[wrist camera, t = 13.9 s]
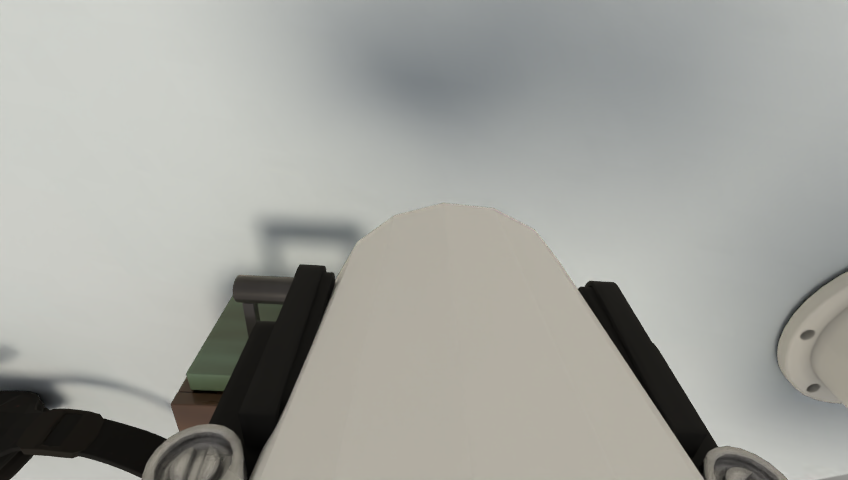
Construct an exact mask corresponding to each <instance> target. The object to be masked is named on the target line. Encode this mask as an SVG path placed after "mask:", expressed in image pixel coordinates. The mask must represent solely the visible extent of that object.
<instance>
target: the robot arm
mask: <svg viewBox="0 0 848 480" xmlns="http://www.w3.org/2000/svg"><path fill="white" fill-rule="evenodd" d="M334 286H335V276H334V273H329V272H326V267H325V266H318V265H299V267H298V269H297V271H296V274H295V276H294V279H293V281H292V284H291V286H290V288H289V291H288V293H287V296H286V298H285V301H284V303H283V306H282V308H281V310H280V313H279V315H278V318H277V320H276V322H275V321H258V322H257V323H256V324H255V326H254V327H253V329H252V332H251V334H250V336H249V338H248V340H247V342H246V345H245V347H244V349H243V351H242V353H241V355H240V357H239V360H238V362H237V364H236V366H235V368H234V370H233V372H232V375H231V377H230V379H229V381H228V383H227V385H226V387H225V390H224V392H223V394H222V396H221V398H220V400H219V403H218V405H217V407H216V409H215V411H214V413H213V415H212V418H211V420H210V422H209V424H204V425H196V426H193V427H190V428H187V429H184V430H182V431H180V432H178V433H177V434H175V435H173V436H171V437H170V438H168V439H167V440H166V441H165V442H164V443H163V444H161V445H160V446H159V447H158V448H157V449H156V450H155V452H154V453H153V454H152V456H151V457H150V459H149V460H148V461H147V464H146V467H145V469H144V472H143V475H142V480H249V478H250V476H251V474H252V471H253V469H254V467H255V465H256V462H257V460H258V458H259V455H260V453H261V451H262V449H263V447H264V445H265V444H266V442H267V440H268V439H269V437H270V436H271V434H272V432H273V431H274V429H275V427H276V425H277V423H278V420H279V418H280V416H281V414H282V412H283V410H284V408H285V406H286V404H287V402H288V400H289V397H290V395H291V393H292V390H293V388H294V386H295V383H296V381H297V379H298V376H299V374H300V372H301V369H302V367H303V365H304V362H305V360H306V358H307V355H308V353H309V351H310V348H311V346H312V343H313V341H314V338H315V335H316V333H317V330H318V328H319V325H320V323H321V320H322V317H323V315H324V312H325V310H326V307H327V304H328V302H329V299H330V297H331V294H332V291H333V289H334ZM578 291H579V292H580V294H581V295H582V297H583V298H584V300H585V301H586V303H587V304H588V306H589V307H590V309H591V310H592V312H593V313H594V315H595V316H596V318H597V319H598V321H599V322H600V324H601V325H602V327H603V328H604V330H605V331H606V333H607V334H608V336H609V337H610V339H611V340H612V342H613V343H614V345H615V346H616V348H617V349H618V351H619V352H620V354H621V355H622V357H623V358H624V360H625V361H626V363H627V364H628V366H629V367H630V369H631V370H632V372H633V373H634V375H635V376H636V378H637V379H638V381H639V382H640V384H641V385H642V387H643V388H644V390H645V391H646V393H647V394H648V396H649V397H650V399H651V400H652V402H653V403H654V405H655V406H656V408H657V409H658V411H659V412H660V414H661V415H662V417H663V418H664V420H665V421H666V423H667V424H668V426H669V427H670V429H671V431H672V432H673V434H674V435H675V437H676V438H677V440H678V441H679V443H680V444H681V446H682V447H683V449H684V450H685V452H686V453H687V455H688V456H689V458H690V459H691V461H692V462H693V464H694V465H695V467H696V468H697V470H698V471H699V473H700V474H701V476H702V477H703V479H704V480H788V479H787V478H786V477H785V476H784V475H783V474H782V473H781V472H780V471H779V470H777V469H776V468H775V467H774V466H773V465H771V464H770V463H769V462H767V461H766V460H764V459H762V458H761V457H759V456H757V455H756V454H753V453H751V452H748V451H746V450H743V449H741V448H735V447H730V446H723V447H718V446H717V444H716V443H715V441H714V440H713V438H712V436H711V435H710V433H709V431H708V430H707V428H706V426H705V425H704V423H703V422H702V420H701V418H700V417H699V415H698V413H697V412H696V410H695V408H694V407H693V405H692V404H691V402H690V400H689V399H688V397H687V395H686V394H685V392H684V390H683V389H682V387H681V386H680V384H679V382H678V381H677V379H676V377H675V376H674V374H673V372H672V371H671V369H670V368H669V366H668V364H667V363H666V361H665V359H664V358H663V356H662V354H661V353H660V351H659V350H658V348H657V347H656V346H655V345H654V343H652V342H651V340H650V338H649V337H648V335H647V333H646V332H645V330H644V328H643V327H642V325H641V323H640V322H639V320H638V319H637V317H636V315H635V314H634V312H633V310H632V309H631V307H630V305H629V304H628V302H627V300H626V299H625V297H624V295H623V294H622V292H621V290H620V289H619V287H618V286H617V284H616V283H614V282H600V281H589V282H587V284H586V285H585V287H579V288H578ZM777 358H778V364H779V367H780V369H781V371H782V373H783V375H784V376H785V377H786V378H787V379H788V380H789V382H790V383H791V384H792V385H793V386H794V387H795V388H796V389H797V390H798V391H799V392H801V393H802V394H804V395H806V396H808V397H811V398H813V399H816V400H819V401H824V402H829V403H841V404H844V405H845V407H846V408H847V409H848V272H846V273H844V274H842V275H840V276H838V277H837V278H835V279H834V280H832V281H831V282H829V283H827V284H826V285H824V286H823V287H821V288H820V289H819V290H818V291H817V292H815V293H814V294H813V295H812V296H811V297H809V298H808V299H807V300H806V301H805V302H804V303H803V304H802V305H801V306H800V307H799V309H798V310H797V311H796V312H795V313H794V314H793V316H792V317H791V319H790V320H789V322H788V323H787V325H786V326H785V328H784V330H783V332H782V335H781V337H780V340H779V343H778V350H777Z"/></svg>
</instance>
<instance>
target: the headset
mask: <svg viewBox="0 0 848 480" xmlns="http://www.w3.org/2000/svg"><path fill="white" fill-rule="evenodd" d="M166 440H167V439H165V438H163V437H161V436H158V435H156V434H153V433H151V432H148V431H145V430H142V429H139V428H136V427H132V426H129V425H126V424H122V423H119V422H115V421H111V420H107V419H103V418H102V416H101V415H100V414H97V413H93V412H90V411H82V410H74V409H52V410H49V409H47V408H45V407H44V403H43V402H42V401H41V400H40V398H39V396H38V394H35V393H32V392H25V391H0V480H10V479H11V478H12V477H13V476H14V475H15V474H16V473H17V472H18V471H19V470H20V469H21V468H22V467H23V466H24V465H25V464H26V463H27V462H28V461H29V460H30V459H31V458H32V456H33V455H44V456H54V457H64V458H74V457H77V456H81V457H85V458H89V459H93V460H96V461H99V462H103V463H106V464H109V465H111V466H114V467H117V468H119V469H122V470H124V471H127V472H129V473H131V474H134V475H136V476H138V477H140V478H142V475H143V472H144V469H145V467H146V464H147V461H148V460H149V459H150V457H151V456H152V454H153V453H154V452H155V450H156V449H157V448H158V447H159V446H160V445H161V444H163V443H164V442H165V441H166Z"/></svg>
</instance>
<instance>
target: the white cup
mask: <svg viewBox="0 0 848 480" xmlns="http://www.w3.org/2000/svg"><path fill="white" fill-rule="evenodd" d="M249 480H704V479H703V477H702V476H701V474H700V473H699V471H698V470H697V468H696V467H695V465H694V464H693V462H692V461H691V459H690V458H689V456H688V455H687V453H686V452H685V450H684V449H683V447H682V446H681V444H680V443H679V441H678V440H677V438H676V437H675V435H674V434H673V432H672V431H671V429H670V427H669V426H668V424H667V423H666V421H665V420H664V418H663V417H662V415H661V414H660V412H659V411H658V409H657V408H656V406H655V405H654V403H653V402H652V400H651V399H650V397H649V396H648V394H647V393H646V391H645V390H644V388H643V387H642V385H641V384H640V382H639V381H638V379H637V378H636V376H635V375H634V373H633V372H632V370H631V369H630V367H629V366H628V364H627V363H626V361H625V360H624V358H623V357H622V355H621V354H620V352H619V351H618V349H617V348H616V346H615V345H614V343H613V342H612V340H611V339H610V337H609V336H608V334H607V333H606V331H605V330H604V328H603V327H602V325H601V324H600V322H599V321H598V319H597V318H596V316H595V315H594V313H593V312H592V310H591V309H590V307H589V306H588V304H587V303H586V301H585V300H584V298H583V297H582V295H581V294H580V292H579V291H578V289H577V288H576V286H575V285H574V283H573V281H572V280H571V278H570V277H569V275H568V274H567V272H566V271H565V269H564V268H563V266H562V265H561V263H560V262H559V261H558V259H557V258H556V257H555V255H554V254H553V253H552V251H551V250H550V249H549V248H548V246H547V245H546V244H545V242H544V241H543V240H542V238H541V237H540V236H539V234H538V233H537V232H536V230H535V229H533V228H531V227H529V226H527V225H525V224H523V223H521V222H519V221H517V220H515V219H514V218H512V217H510V216H508V215H506V214H504V213H502V212H500V211H498V210H496V209H494V208H488V207H478V206H469V205H459V204H450V203H441V204H437V205H433V206H429V207H425V208H421V209H417V210H413V211H409V212H405V213H401V214H397V215H394V216H393V217H391V218H390V219H389V220H387V221H386V222H384V223H383V224H382V225H380V226H379V227H377V228H376V229H375V230H373V231H372V232H370V233H369V234H368V235H366V236H365V237H363V238H362V239H361V240H359V241H358V242H357V243H356V245H355V246H354V248H353V250H352V252H351V254H350V255H349V257H348V259H347V261H346V262H345V264H344V266H343V268H342V269H341V271H340V273H339V275H338V276H337V278H336V281H335V286H334V289H333V291H332V294H331V297H330V299H329V302H328V304H327V307H326V310H325V312H324V315H323V317H322V320H321V323H320V325H319V328H318V330H317V333H316V335H315V338H314V341H313V343H312V346H311V348H310V351H309V353H308V355H307V358H306V360H305V362H304V365H303V367H302V369H301V372H300V374H299V376H298V379H297V381H296V383H295V386H294V388H293V390H292V393H291V395H290V397H289V400H288V402H287V404H286V406H285V408H284V410H283V412H282V414H281V416H280V418H279V420H278V423H277V425H276V427H275V429H274V431H273V432H272V434H271V436H270V437H269V439H268V440H267V442H266V444H265V445H264V447H263V449H262V451H261V453H260V455H259V458H258V460H257V462H256V465H255V467H254V469H253V471H252V474H251V476H250V478H249Z"/></svg>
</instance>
